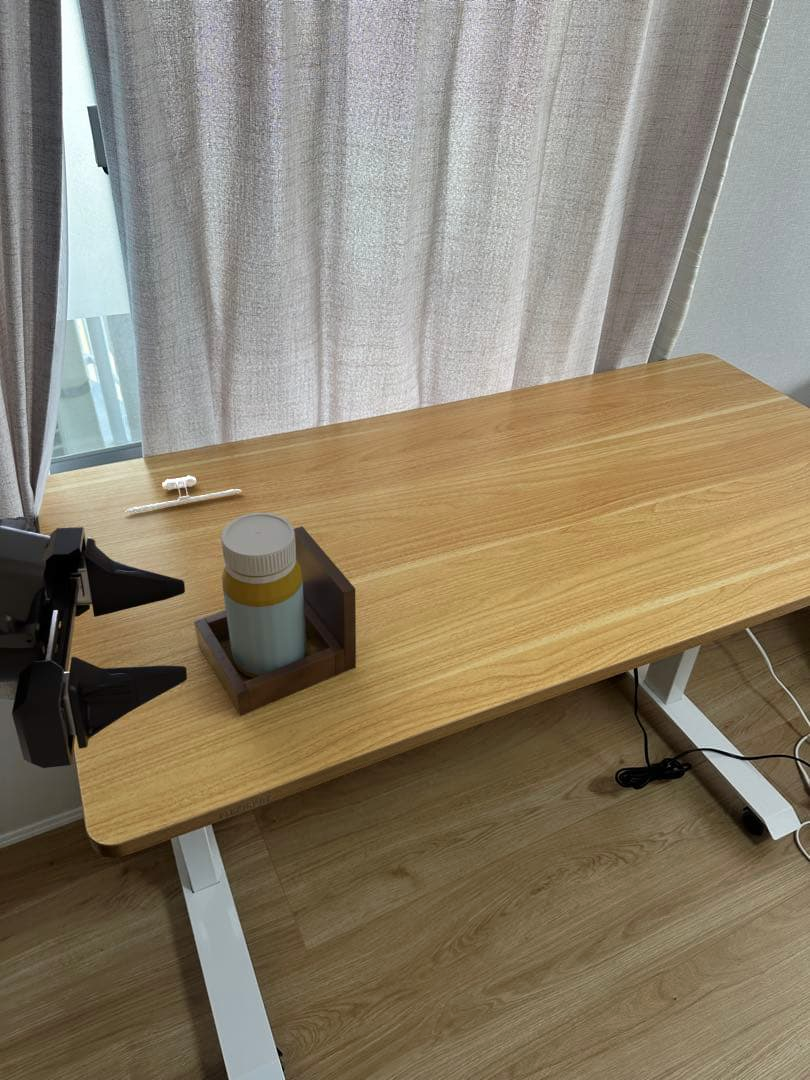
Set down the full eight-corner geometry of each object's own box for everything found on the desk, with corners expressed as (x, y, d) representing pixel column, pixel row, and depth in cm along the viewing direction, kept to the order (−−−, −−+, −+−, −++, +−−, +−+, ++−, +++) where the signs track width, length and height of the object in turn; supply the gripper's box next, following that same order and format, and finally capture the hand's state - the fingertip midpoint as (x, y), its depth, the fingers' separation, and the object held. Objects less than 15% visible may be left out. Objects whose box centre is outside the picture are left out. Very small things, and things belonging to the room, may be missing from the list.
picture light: (125, 516, 95) (122, 501, 93) (121, 496, 98) (118, 482, 97) (243, 494, 99) (241, 480, 98) (235, 476, 102) (234, 462, 101)
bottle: (312, 635, 80) (306, 512, 71) (298, 688, 75) (289, 562, 65) (244, 628, 80) (228, 506, 71) (224, 680, 75) (205, 555, 66)
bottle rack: (240, 716, 72) (228, 635, 66) (197, 643, 79) (183, 563, 73) (356, 667, 77) (355, 588, 71) (306, 602, 84) (302, 525, 78)
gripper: (-122, 657, 43) (181, 635, 47) (-50, 470, 57) (178, 465, 61) (-73, 786, 50) (190, 757, 53) (-18, 590, 64) (185, 578, 68)
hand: (185, 627), depth 59 cm, fingers open, 9 cm apart
